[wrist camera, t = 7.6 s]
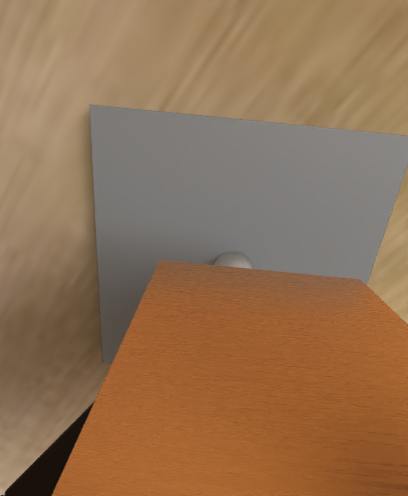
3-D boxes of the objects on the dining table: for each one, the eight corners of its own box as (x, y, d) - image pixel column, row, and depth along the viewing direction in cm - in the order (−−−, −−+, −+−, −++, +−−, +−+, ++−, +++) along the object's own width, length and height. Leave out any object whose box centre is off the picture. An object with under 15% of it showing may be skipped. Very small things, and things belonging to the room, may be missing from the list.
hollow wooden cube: (360, 279, 8) (739, 640, 2) (313, 421, 10) (445, 796, 4) (159, 259, 8) (16, 572, 2) (154, 405, 10) (73, 762, 4)
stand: (399, 137, 13) (510, 134, 8) (325, 369, 18) (366, 453, 13) (100, 107, 13) (32, 87, 8) (109, 348, 18) (70, 424, 13)
